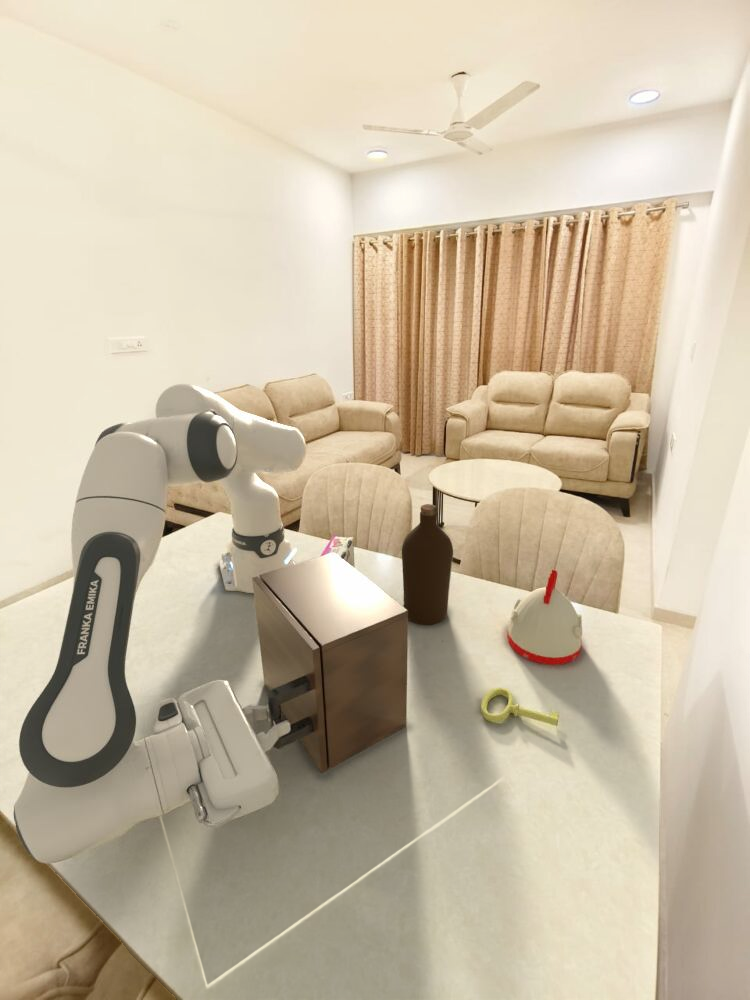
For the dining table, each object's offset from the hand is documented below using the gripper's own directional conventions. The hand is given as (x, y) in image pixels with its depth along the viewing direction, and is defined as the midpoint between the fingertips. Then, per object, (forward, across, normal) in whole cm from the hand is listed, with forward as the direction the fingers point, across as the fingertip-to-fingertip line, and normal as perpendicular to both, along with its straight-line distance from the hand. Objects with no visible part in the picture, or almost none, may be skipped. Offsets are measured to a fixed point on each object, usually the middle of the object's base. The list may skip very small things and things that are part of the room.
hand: (283, 715), depth 68 cm
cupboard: (+12, +9, +11) cm, 18 cm away
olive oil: (+41, +21, +11) cm, 48 cm away
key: (+36, -10, +11) cm, 39 cm away
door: (+1, +8, +11) cm, 14 cm away
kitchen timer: (+55, 0, +11) cm, 56 cm away
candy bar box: (+25, +31, +11) cm, 41 cm away
